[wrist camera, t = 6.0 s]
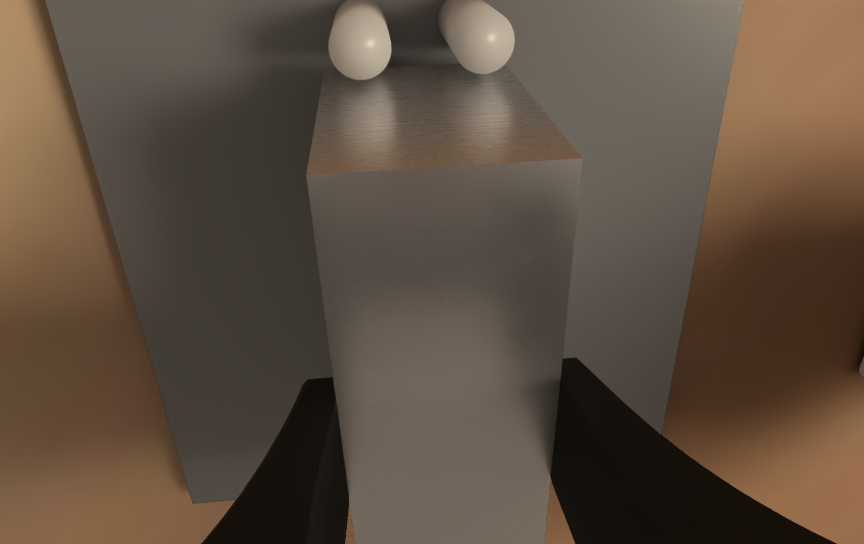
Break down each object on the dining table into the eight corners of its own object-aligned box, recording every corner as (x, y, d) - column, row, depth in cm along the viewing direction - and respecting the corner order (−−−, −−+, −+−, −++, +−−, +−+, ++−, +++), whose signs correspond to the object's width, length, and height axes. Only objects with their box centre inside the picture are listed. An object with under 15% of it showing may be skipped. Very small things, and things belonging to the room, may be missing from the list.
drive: (503, 61, 15) (582, 158, 10) (493, 398, 20) (540, 579, 15) (324, 70, 14) (306, 175, 9) (360, 410, 20) (362, 598, 14)
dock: (743, -92, 15) (847, -93, 12) (647, 444, 24) (694, 530, 20) (41, -70, 14) (-55, -64, 11) (197, 485, 23) (169, 583, 19)
